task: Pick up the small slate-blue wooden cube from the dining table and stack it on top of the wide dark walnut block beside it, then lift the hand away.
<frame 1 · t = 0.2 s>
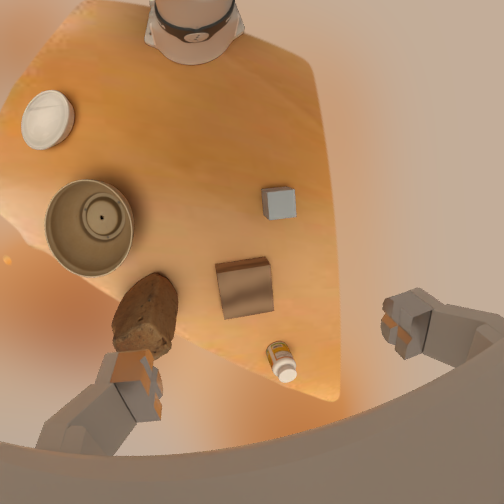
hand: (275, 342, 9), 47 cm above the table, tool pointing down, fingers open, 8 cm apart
block: (151, 292, 58), on the table
supplement bottle: (276, 349, 68), on the table
walnut block: (242, 282, 61), on the table
planter bowl: (104, 216, 52), on the table
slate cube: (275, 200, 56), on the table
ramekin: (55, 121, 43), on the table
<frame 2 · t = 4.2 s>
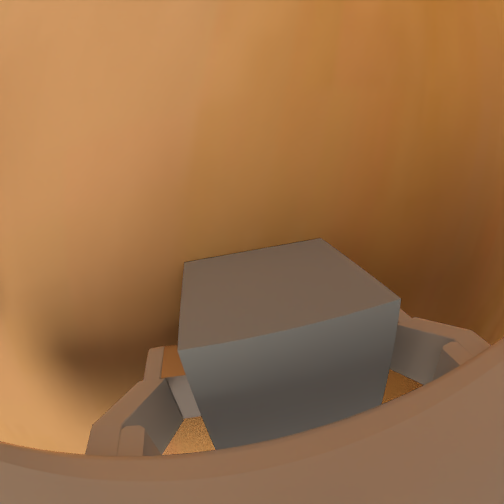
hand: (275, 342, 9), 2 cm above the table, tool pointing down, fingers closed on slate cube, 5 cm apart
slate cube: (262, 310, 11), on the table, touching gripper
when the fingers open (8 cm above the table, at t = 11.6 s): slate cube stays where it is, resting on walnut block.
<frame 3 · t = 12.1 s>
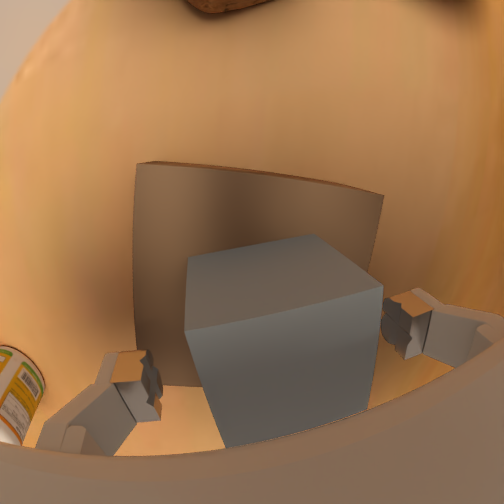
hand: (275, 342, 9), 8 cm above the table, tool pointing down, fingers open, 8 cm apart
supplement bottle: (19, 370, 16), on the table
walnut block: (238, 258, 17), on the table, touching slate cube
slate cube: (260, 301, 12), point 5 cm above the table, touching walnut block
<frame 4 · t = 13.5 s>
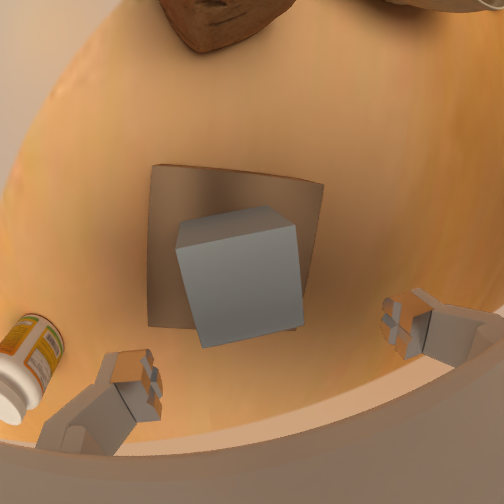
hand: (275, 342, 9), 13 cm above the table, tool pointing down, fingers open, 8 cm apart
block: (207, 0, 16), on the table
supplement bottle: (41, 336, 22), on the table
walnut block: (223, 236, 22), on the table
slate cube: (231, 254, 17), point 5 cm above the table
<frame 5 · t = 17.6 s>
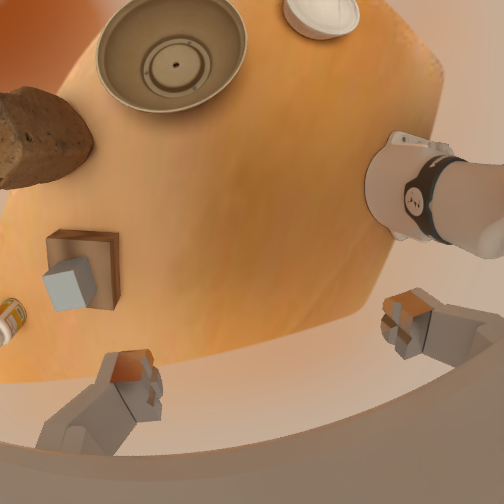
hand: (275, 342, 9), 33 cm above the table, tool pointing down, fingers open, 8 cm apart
block: (67, 137, 34), on the table
supplement bottle: (16, 310, 40), on the table
walnut block: (89, 262, 40), on the table, touching slate cube
planter bowl: (176, 69, 34), on the table
slate cube: (76, 276, 35), point 5 cm above the table, touching walnut block
ramekin: (311, 16, 34), on the table
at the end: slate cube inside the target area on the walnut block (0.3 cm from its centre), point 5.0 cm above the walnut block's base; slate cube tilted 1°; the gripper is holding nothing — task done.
